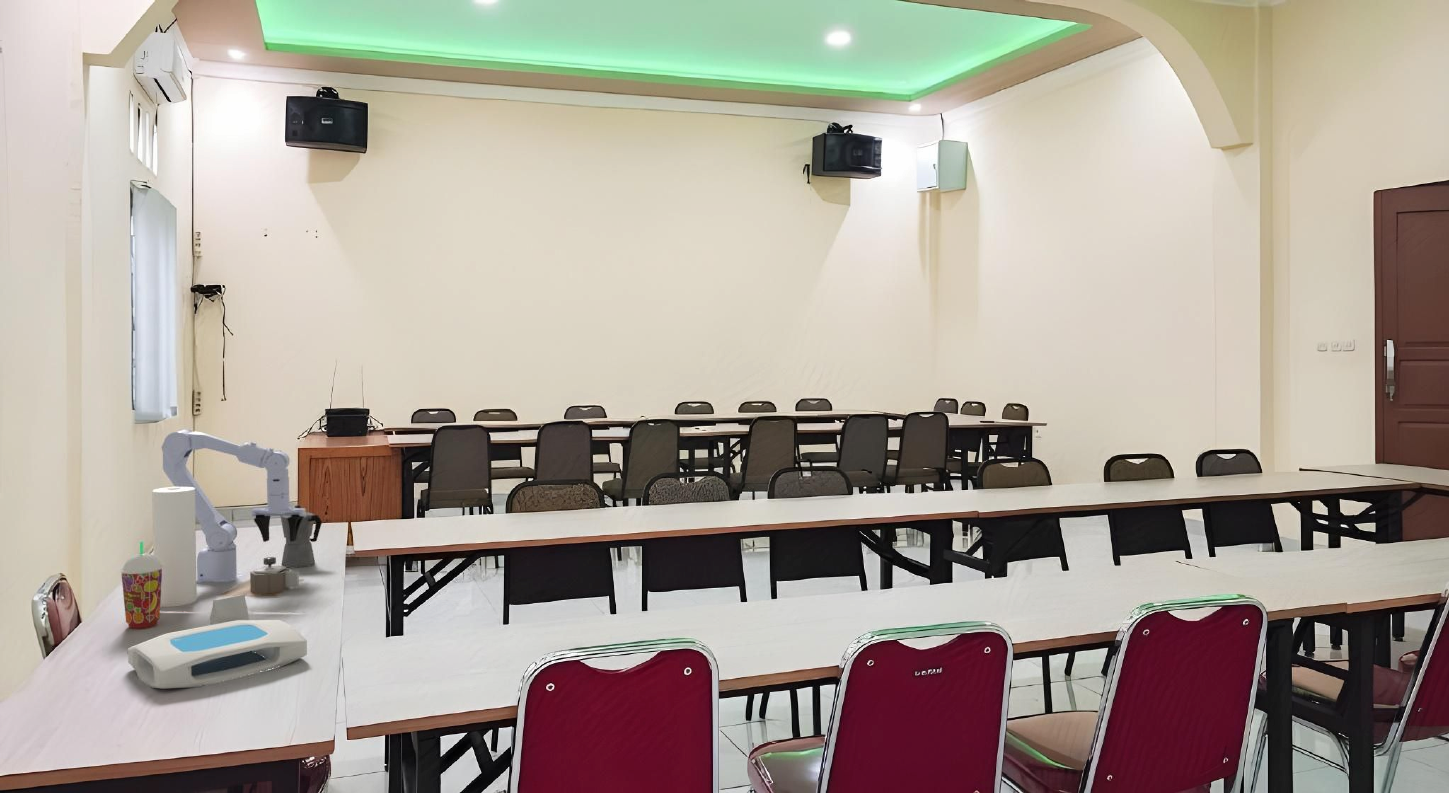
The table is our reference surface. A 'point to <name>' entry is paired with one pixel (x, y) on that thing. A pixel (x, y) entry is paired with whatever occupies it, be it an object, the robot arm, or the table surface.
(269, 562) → the plunger
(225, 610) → the tea bag
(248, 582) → the board
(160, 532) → the cylinder container
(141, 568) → the smoothie
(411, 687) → the table surface
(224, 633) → the document scanner
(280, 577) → the grey faceted block
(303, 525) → the coffeepot
